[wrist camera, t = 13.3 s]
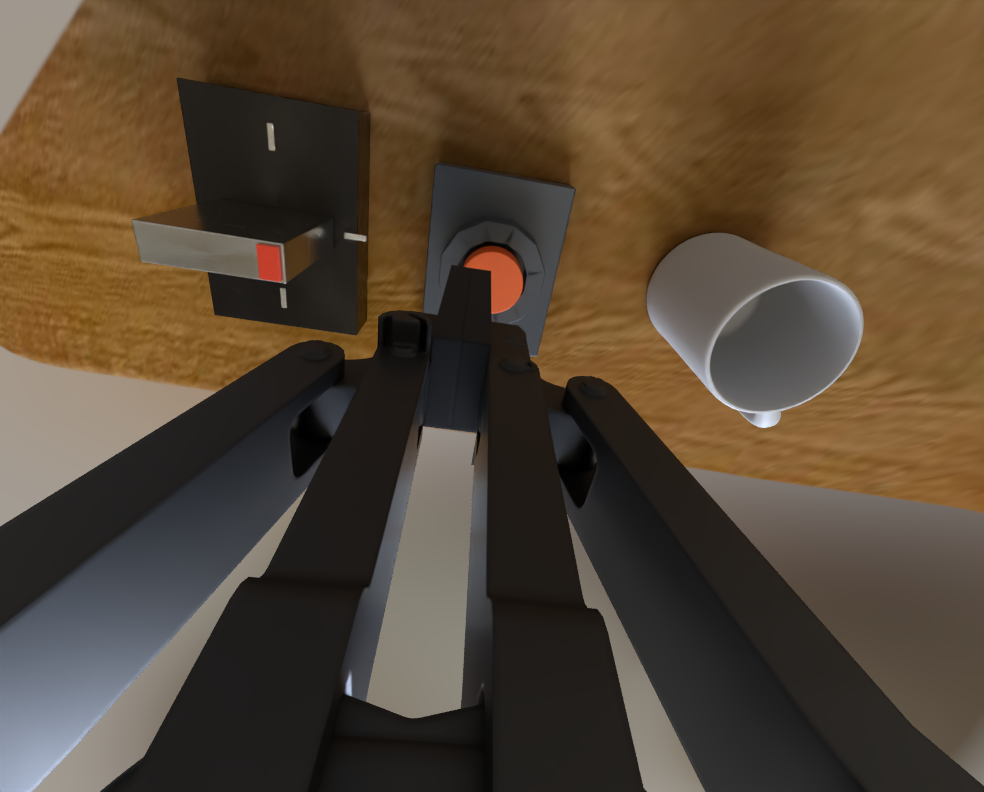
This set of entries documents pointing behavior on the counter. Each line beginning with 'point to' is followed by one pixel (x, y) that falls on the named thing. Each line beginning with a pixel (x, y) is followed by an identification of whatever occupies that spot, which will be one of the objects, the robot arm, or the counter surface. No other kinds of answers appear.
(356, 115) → the panel
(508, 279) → the button
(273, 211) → the grey metallic block
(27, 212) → the counter surface
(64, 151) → the counter surface
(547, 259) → the button box
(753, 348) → the mug
